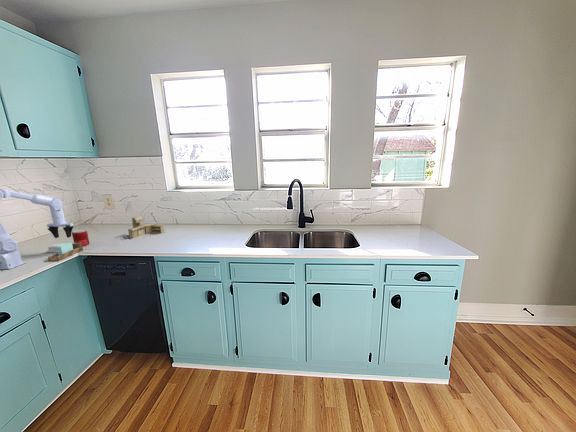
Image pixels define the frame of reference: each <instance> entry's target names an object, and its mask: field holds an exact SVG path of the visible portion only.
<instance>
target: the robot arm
mask: <svg viewBox="0 0 576 432" xmlns="http://www.w3.org/2000/svg"><path fill="white" fill-rule="evenodd" d="M3 198H4V199H7V198H16V199H21V200H26V201H30V202H31V203H32V204H36V205H40V206H45V207H47V206H48V207H49V210H50V212H49V213H50V215H51V219H52V220H51V221H52V223H47V224H46V227H47V230H48V231H49V232H50V233H51V234H52V236H53V237H54V239H58V238H59V237H60V234H59V227H60V228H61V227H62V229H63V230H64V233H65V236H66V238H67V239H68V238H71V237H72V231H73V229H74V223H73V222H67V221H66V218H65V214H64V209H63V205H64V202H63V201H62V200H61V199H60V198H56V197H53V196H51V195H49V196H48V195H47V196H46V195H43V194H42V193H38V194H37V193H35V194H32V195H31V194H28V193H25V192H24V193H23V192H19V191H15V190H10V189H1V188H0V200H2V199H3ZM26 263H28V261H23V259H22V256H21V253H20V249H19V244H18V242H17V241H15V240H14V239H13V238H12V237H11V235H9V233H8V232H7V230H6V228H5V227H4V224H3V223H2V222H1V221H0V270H11V269H14V268H17V267H19V266H22V265H24V264H26Z"/></svg>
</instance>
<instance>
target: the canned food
mask: <svg viewBox="0 0 576 432" xmlns="http://www.w3.org/2000/svg"><path fill="white" fill-rule="evenodd" d="M71 237H72V240H73V243H82V247H83V248H84V247H87V245H88V246H89V245H90V239H89V234H88V230H87V229H86V228H82V229H80V228H79V229H75V230H72V232H71Z"/></svg>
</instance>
